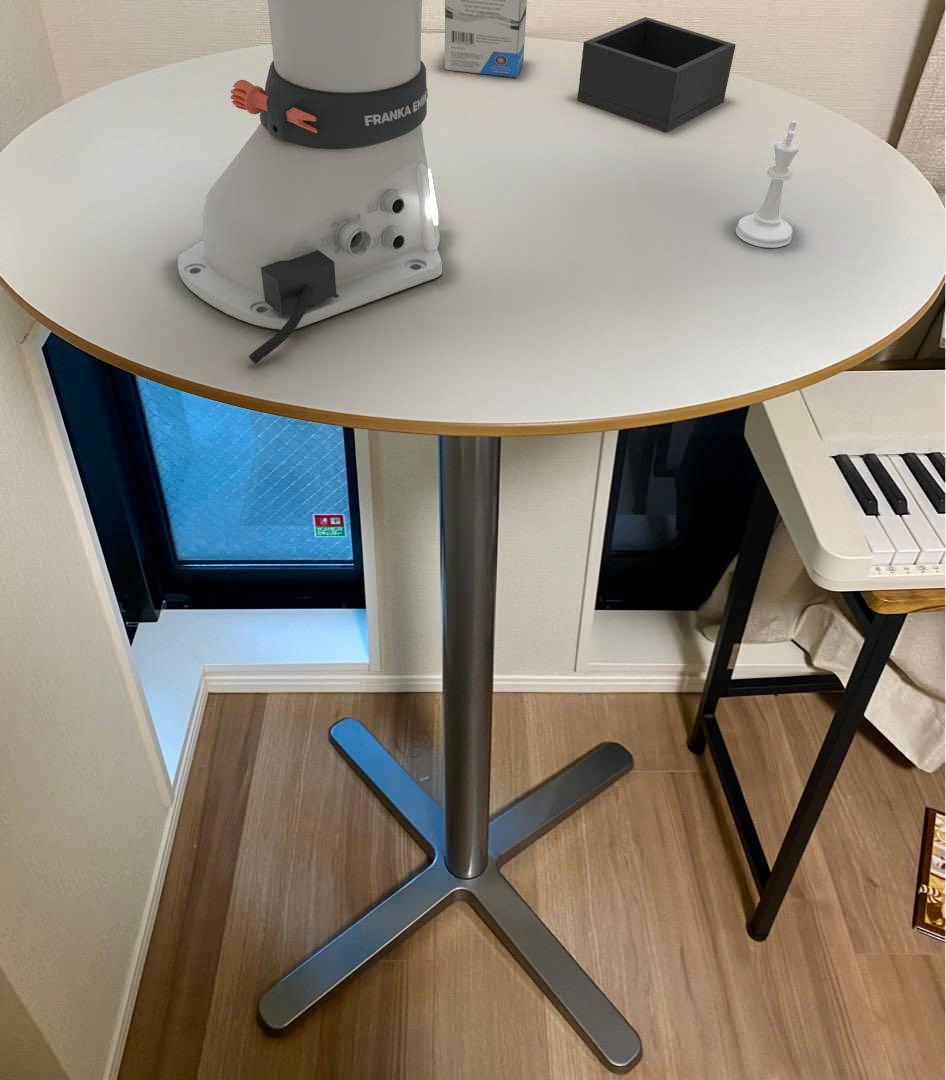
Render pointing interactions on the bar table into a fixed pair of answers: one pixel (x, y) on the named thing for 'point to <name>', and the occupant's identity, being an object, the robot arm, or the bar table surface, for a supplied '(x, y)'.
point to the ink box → (485, 36)
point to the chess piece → (772, 202)
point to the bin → (655, 73)
